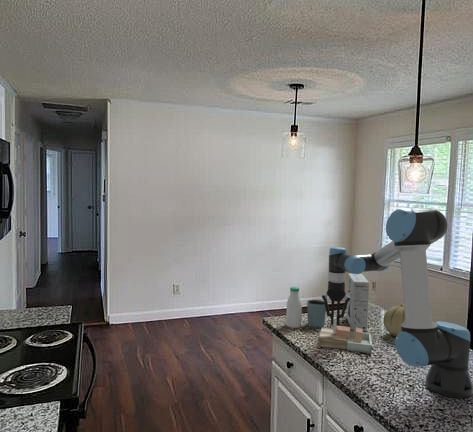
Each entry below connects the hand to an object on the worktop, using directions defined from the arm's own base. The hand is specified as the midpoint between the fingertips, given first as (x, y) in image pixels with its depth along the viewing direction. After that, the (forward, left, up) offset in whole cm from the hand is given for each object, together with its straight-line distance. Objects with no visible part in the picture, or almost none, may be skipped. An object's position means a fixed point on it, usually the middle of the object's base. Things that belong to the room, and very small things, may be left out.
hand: (334, 331), depth 192 cm
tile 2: (0, -9, -1) cm, 9 cm away
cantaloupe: (+19, -30, -5) cm, 36 cm away
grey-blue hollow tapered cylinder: (+23, +10, -5) cm, 26 cm away
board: (0, 0, -5) cm, 5 cm away
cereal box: (+31, -10, -5) cm, 33 cm away
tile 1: (0, -4, -1) cm, 4 cm away
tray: (0, -11, -5) cm, 12 cm away
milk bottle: (+17, +21, -5) cm, 28 cm away
